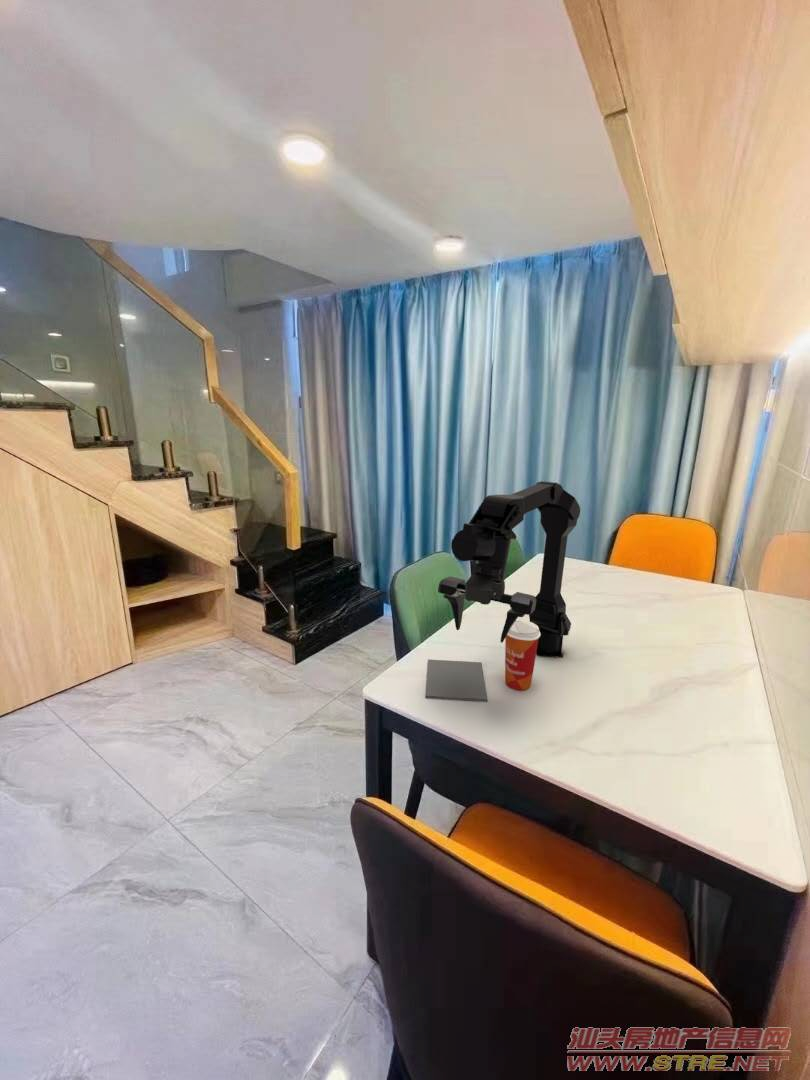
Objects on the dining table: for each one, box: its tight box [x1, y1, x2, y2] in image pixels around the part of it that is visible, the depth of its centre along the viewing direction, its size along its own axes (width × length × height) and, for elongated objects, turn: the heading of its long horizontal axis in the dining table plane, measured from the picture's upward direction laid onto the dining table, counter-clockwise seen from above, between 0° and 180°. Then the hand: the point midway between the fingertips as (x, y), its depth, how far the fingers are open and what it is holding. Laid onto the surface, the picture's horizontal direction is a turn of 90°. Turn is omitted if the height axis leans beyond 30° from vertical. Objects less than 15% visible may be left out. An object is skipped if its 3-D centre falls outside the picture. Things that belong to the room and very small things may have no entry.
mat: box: [425, 659, 488, 703], centre depth 100 cm, size 13×15×1 cm
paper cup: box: [504, 619, 541, 692], centre depth 97 cm, size 8×8×14 cm
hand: (479, 635), depth 89 cm, fingers open, 9 cm apart
